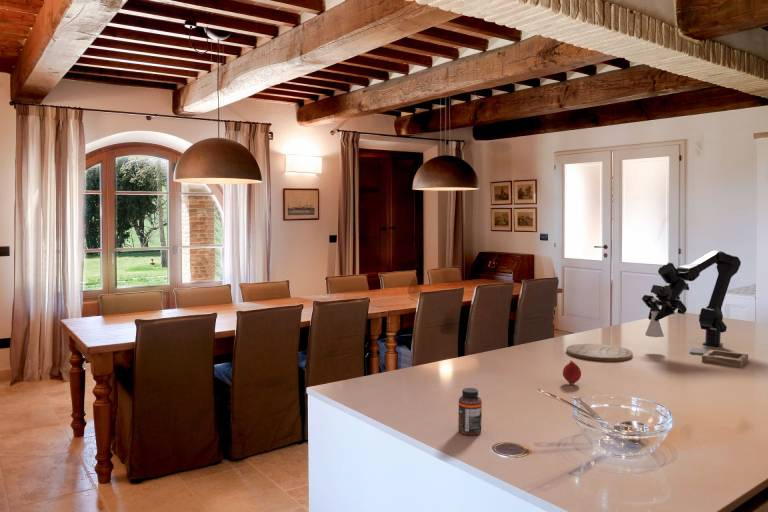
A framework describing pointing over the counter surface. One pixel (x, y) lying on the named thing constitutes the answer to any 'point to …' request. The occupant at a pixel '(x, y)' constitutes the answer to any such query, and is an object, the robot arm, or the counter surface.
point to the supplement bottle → (470, 412)
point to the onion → (571, 372)
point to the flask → (654, 327)
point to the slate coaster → (699, 351)
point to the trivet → (599, 352)
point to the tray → (725, 358)
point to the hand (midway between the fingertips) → (652, 319)
